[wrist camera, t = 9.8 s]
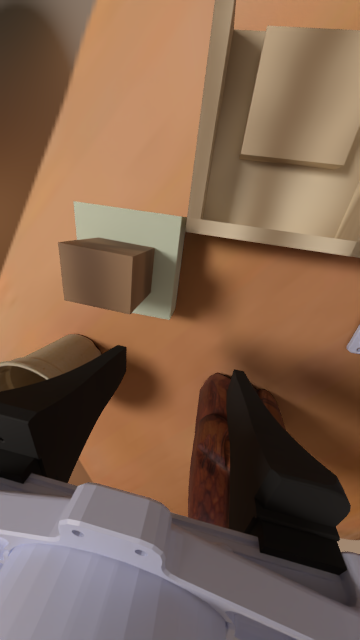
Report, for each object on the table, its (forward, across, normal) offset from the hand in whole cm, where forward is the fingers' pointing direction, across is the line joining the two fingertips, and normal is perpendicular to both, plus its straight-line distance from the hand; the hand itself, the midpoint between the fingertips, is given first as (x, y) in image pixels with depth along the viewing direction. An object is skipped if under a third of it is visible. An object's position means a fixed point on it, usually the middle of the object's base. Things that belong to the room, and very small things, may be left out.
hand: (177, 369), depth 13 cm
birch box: (+10, -5, -14) cm, 18 cm away
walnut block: (+7, +6, -4) cm, 10 cm away
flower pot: (+10, +14, +9) cm, 20 cm away
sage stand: (+10, +6, -4) cm, 13 cm away
